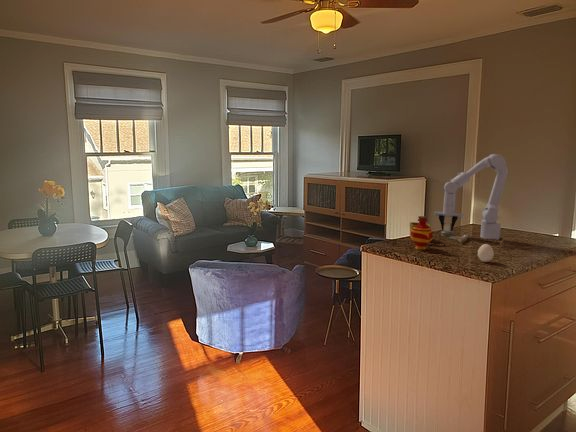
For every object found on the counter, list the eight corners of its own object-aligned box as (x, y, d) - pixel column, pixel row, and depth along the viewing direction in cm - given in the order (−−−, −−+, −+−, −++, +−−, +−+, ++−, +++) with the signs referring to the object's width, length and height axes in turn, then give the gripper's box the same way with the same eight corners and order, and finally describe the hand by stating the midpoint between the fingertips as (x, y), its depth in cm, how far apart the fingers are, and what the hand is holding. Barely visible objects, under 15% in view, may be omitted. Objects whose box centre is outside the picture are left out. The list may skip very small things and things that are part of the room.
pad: (452, 234, 240) (452, 234, 240) (451, 236, 235) (451, 236, 235) (442, 233, 242) (442, 233, 242) (441, 235, 238) (441, 235, 237)
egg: (474, 261, 190) (475, 243, 188) (483, 259, 193) (484, 242, 191) (486, 264, 184) (488, 246, 183) (495, 262, 188) (497, 244, 186)
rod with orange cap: (463, 236, 229) (464, 233, 229) (468, 236, 228) (468, 233, 228) (456, 240, 218) (457, 237, 218) (461, 241, 217) (461, 238, 217)
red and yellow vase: (432, 246, 215) (434, 216, 212) (431, 251, 205) (433, 219, 203) (409, 244, 218) (411, 214, 216) (408, 249, 209) (410, 217, 206)
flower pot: (425, 239, 230) (427, 222, 229) (429, 243, 222) (430, 225, 220) (408, 239, 231) (409, 222, 230) (411, 243, 223) (412, 225, 221)
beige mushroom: (453, 233, 240) (454, 223, 239) (452, 235, 234) (453, 224, 233) (441, 232, 242) (442, 222, 241) (440, 234, 237) (441, 223, 236)
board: (470, 238, 236) (471, 234, 236) (465, 245, 219) (466, 241, 219) (443, 235, 243) (443, 231, 243) (436, 242, 225) (436, 237, 225)
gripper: (464, 204, 236) (462, 230, 238) (436, 202, 243) (434, 227, 245) (463, 206, 230) (461, 232, 232) (433, 204, 237) (432, 229, 239)
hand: (447, 230), depth 238 cm, fingers closed on beige mushroom, 4 cm apart
